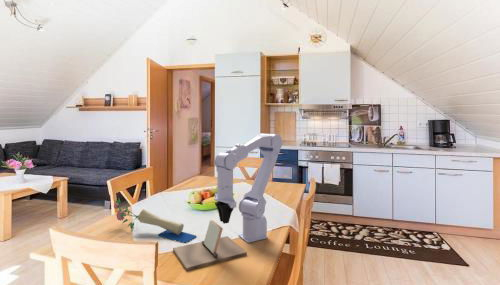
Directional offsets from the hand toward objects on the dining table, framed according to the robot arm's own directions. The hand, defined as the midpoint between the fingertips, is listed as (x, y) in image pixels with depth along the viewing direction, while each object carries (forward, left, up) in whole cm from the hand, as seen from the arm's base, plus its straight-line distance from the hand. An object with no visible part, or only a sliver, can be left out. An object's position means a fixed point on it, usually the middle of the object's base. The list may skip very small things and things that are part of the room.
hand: (224, 222), depth 106 cm
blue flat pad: (+12, -20, -11) cm, 26 cm away
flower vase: (+22, -33, -11) cm, 41 cm away
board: (+6, 0, -10) cm, 12 cm away
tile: (+4, 0, -5) cm, 6 cm away
